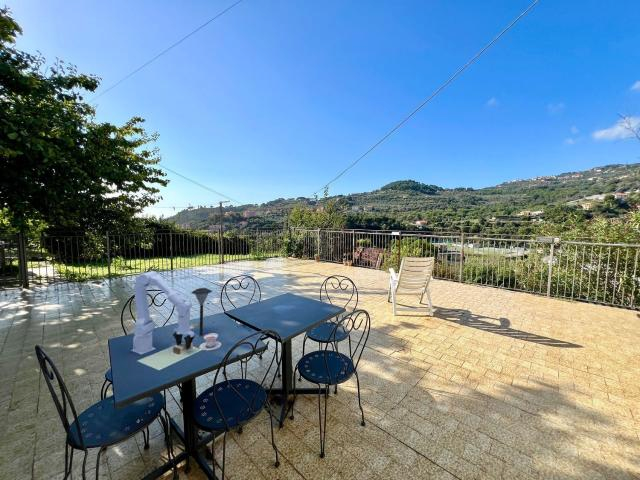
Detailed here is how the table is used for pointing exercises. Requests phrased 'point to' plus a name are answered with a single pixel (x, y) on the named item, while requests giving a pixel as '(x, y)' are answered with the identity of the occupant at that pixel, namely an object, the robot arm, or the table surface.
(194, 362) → the table surface
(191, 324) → the smartphone
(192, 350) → the mat
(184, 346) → the brown-topped white block
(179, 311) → the robot arm
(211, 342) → the teacup
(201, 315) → the solar garden light
